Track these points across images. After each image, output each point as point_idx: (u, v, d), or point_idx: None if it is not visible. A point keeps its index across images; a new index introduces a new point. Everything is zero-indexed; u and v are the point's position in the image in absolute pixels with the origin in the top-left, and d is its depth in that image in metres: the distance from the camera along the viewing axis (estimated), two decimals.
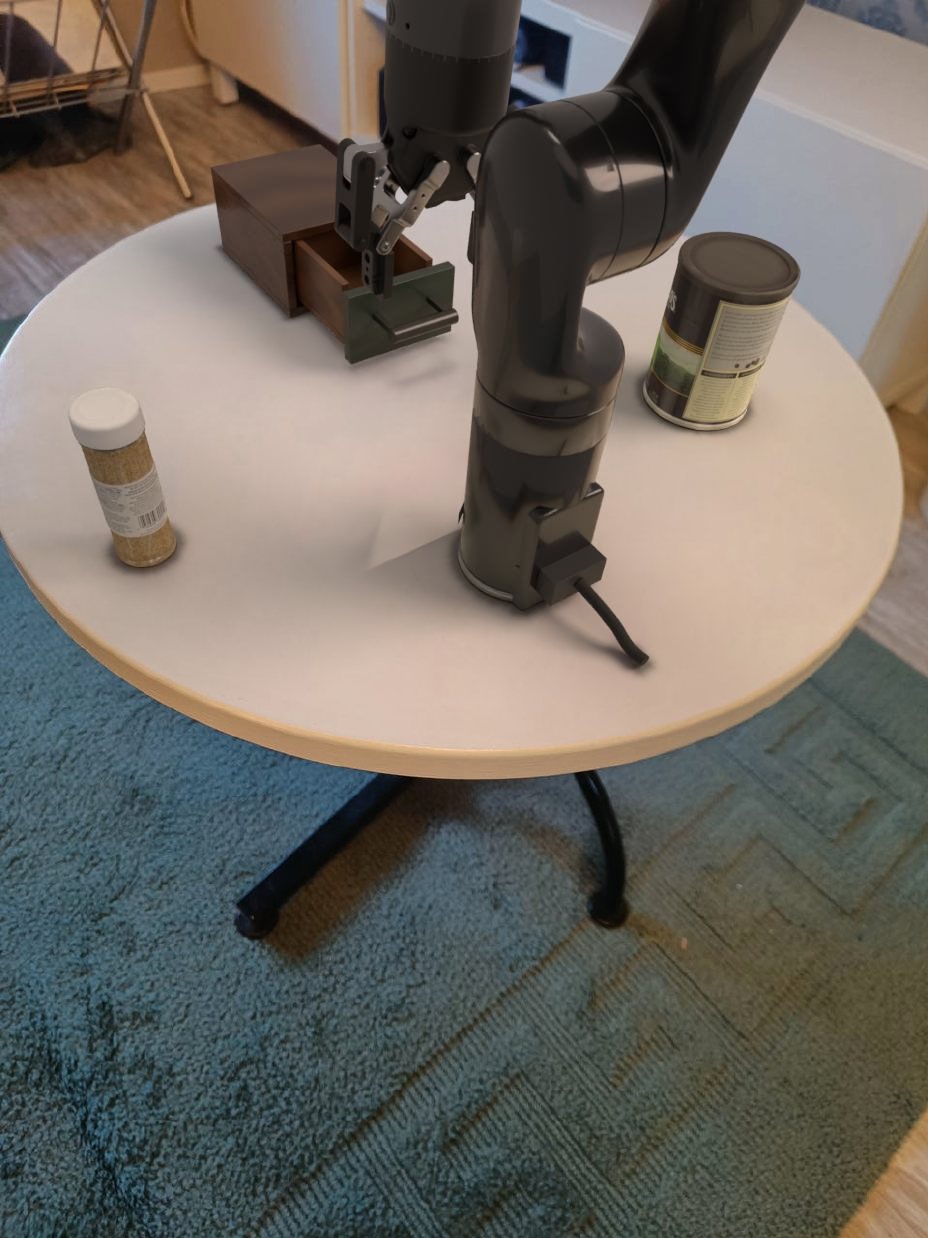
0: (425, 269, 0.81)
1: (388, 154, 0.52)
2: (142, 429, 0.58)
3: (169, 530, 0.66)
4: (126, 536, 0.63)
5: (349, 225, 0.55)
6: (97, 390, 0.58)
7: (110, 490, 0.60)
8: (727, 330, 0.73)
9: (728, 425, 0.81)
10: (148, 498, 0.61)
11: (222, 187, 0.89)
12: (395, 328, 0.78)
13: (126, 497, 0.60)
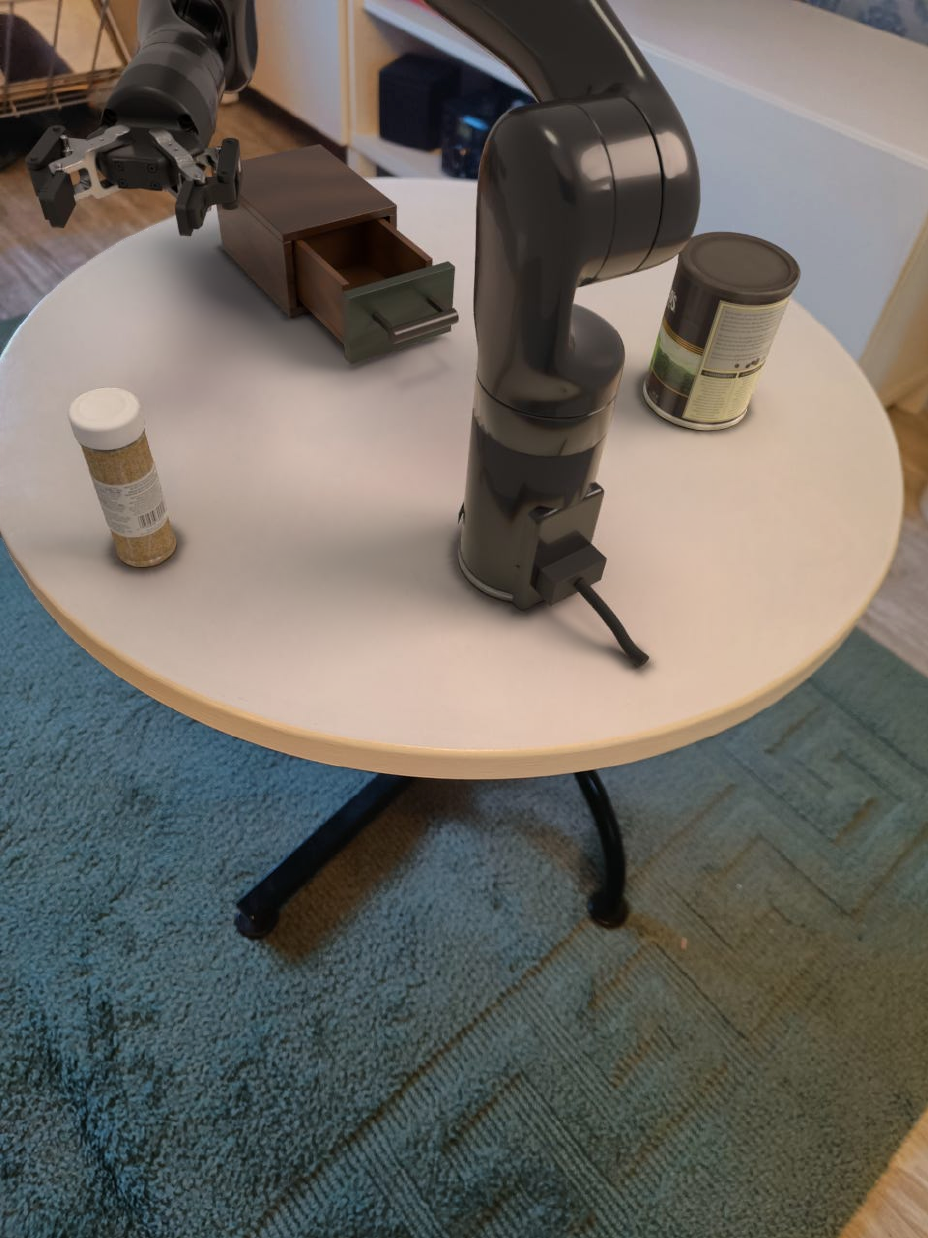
0: (425, 269, 0.81)
1: (86, 140, 0.64)
2: (142, 429, 0.58)
3: (169, 530, 0.66)
4: (126, 536, 0.63)
5: None
6: (97, 390, 0.58)
7: (110, 490, 0.60)
8: (727, 330, 0.73)
9: (728, 425, 0.81)
10: (148, 498, 0.61)
11: None
12: (395, 328, 0.78)
13: (126, 497, 0.60)
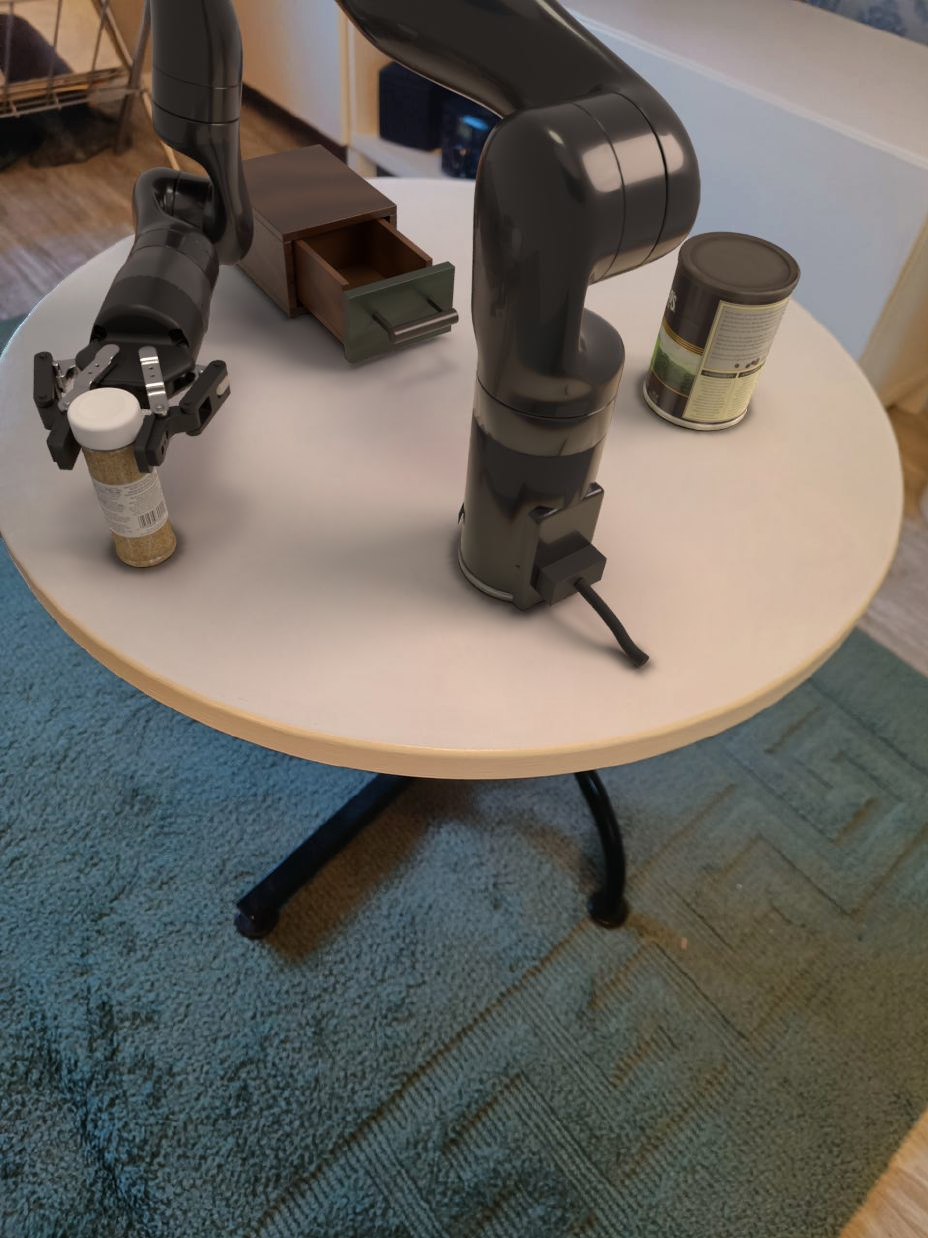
0: (425, 269, 0.81)
1: None
2: None
3: (169, 530, 0.66)
4: (126, 536, 0.63)
5: None
6: (96, 390, 0.58)
7: (109, 490, 0.60)
8: (727, 329, 0.73)
9: (728, 425, 0.81)
10: (148, 498, 0.61)
11: None
12: (395, 328, 0.78)
13: (126, 497, 0.60)
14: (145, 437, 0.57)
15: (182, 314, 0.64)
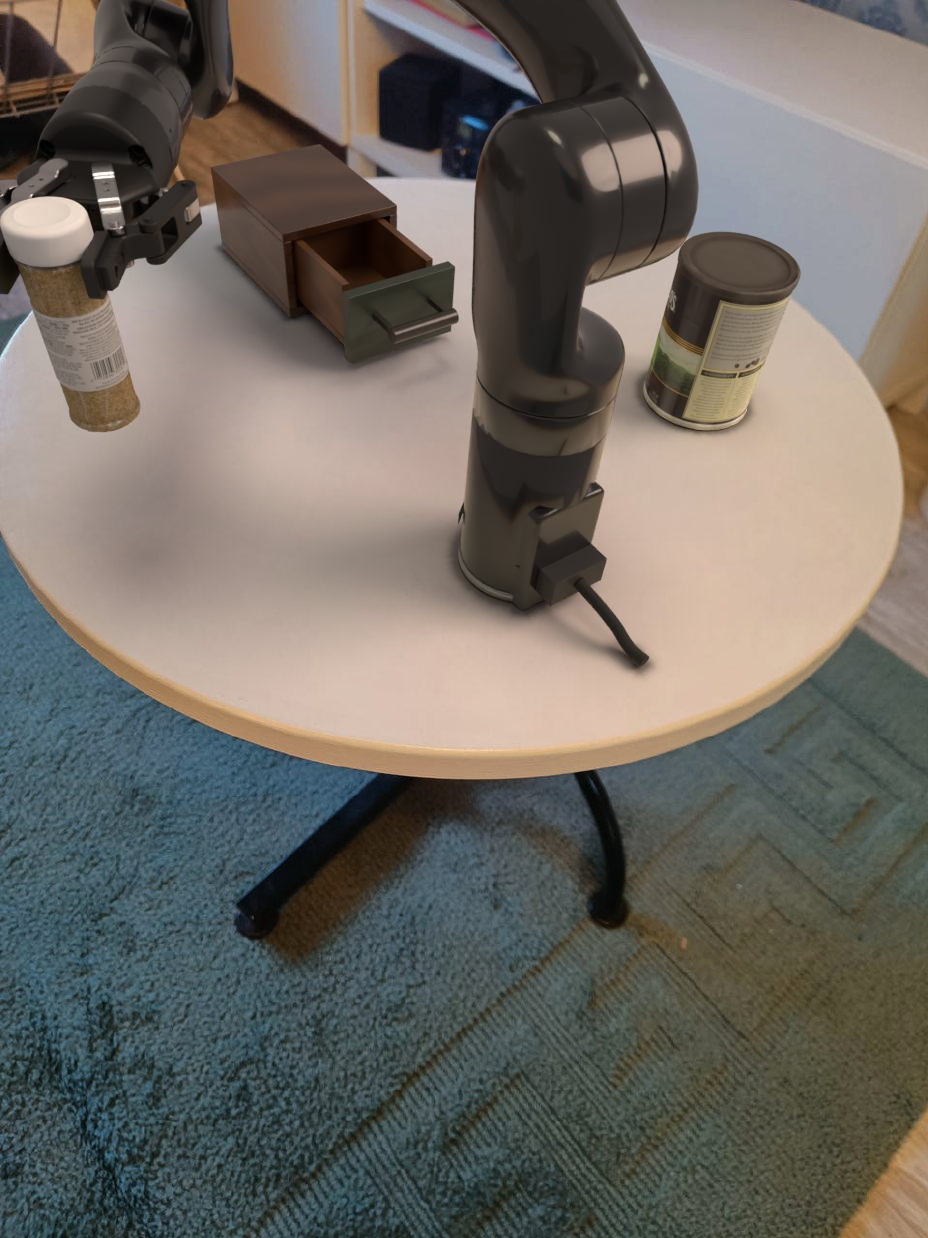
0: (425, 269, 0.81)
1: None
2: None
3: (131, 389, 0.56)
4: (79, 390, 0.53)
5: None
6: (37, 198, 0.48)
7: (55, 325, 0.50)
8: (727, 329, 0.73)
9: (728, 425, 0.81)
10: (103, 339, 0.52)
11: (222, 187, 0.89)
12: (395, 328, 0.78)
13: (75, 336, 0.50)
14: (95, 252, 0.47)
15: (145, 130, 0.54)
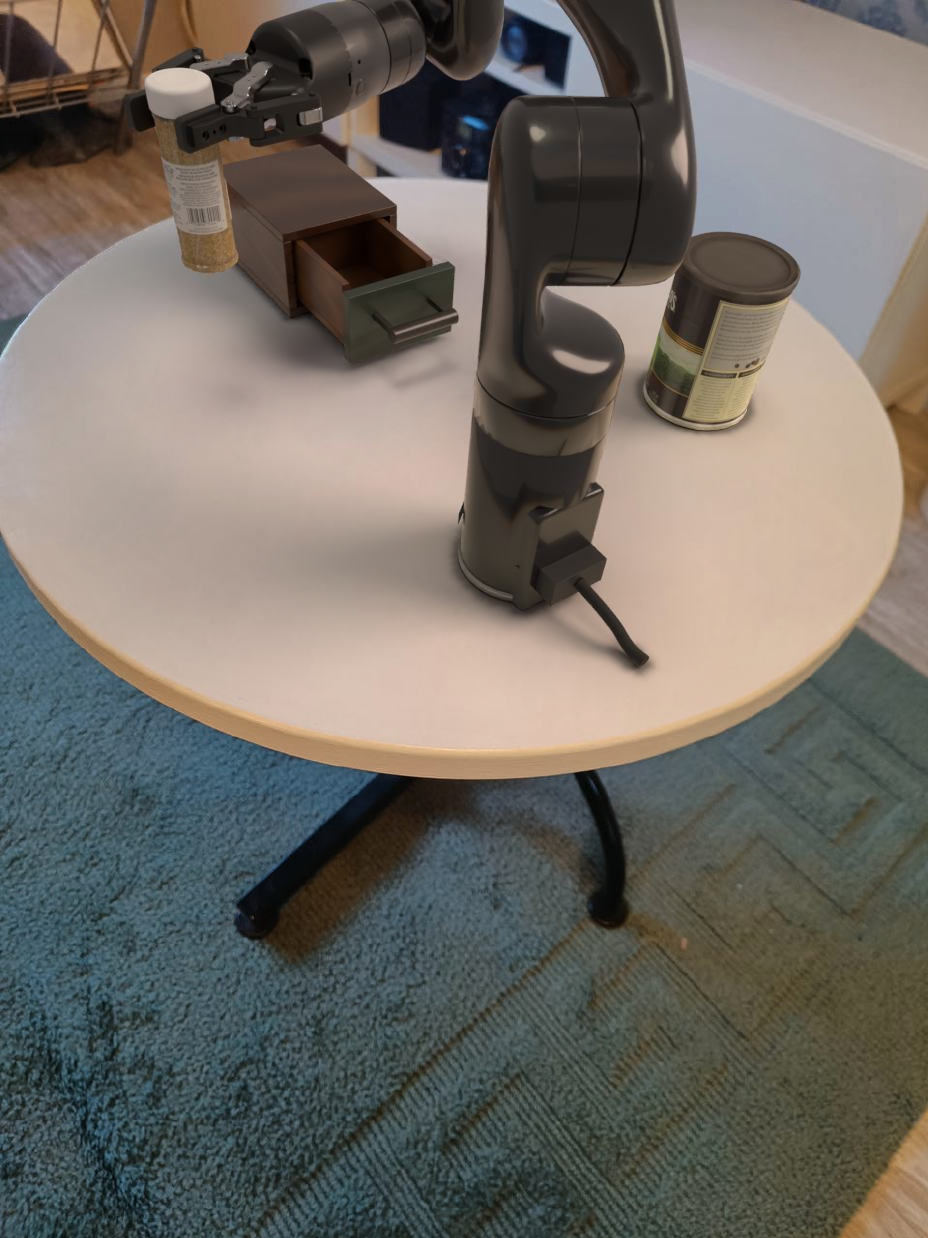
0: (425, 269, 0.81)
1: None
2: None
3: (224, 245, 0.68)
4: (179, 228, 0.67)
5: None
6: (187, 69, 0.61)
7: (166, 167, 0.63)
8: (727, 330, 0.73)
9: (728, 425, 0.81)
10: (199, 192, 0.64)
11: None
12: (395, 328, 0.78)
13: (177, 180, 0.64)
14: (193, 115, 0.59)
15: (322, 51, 0.65)
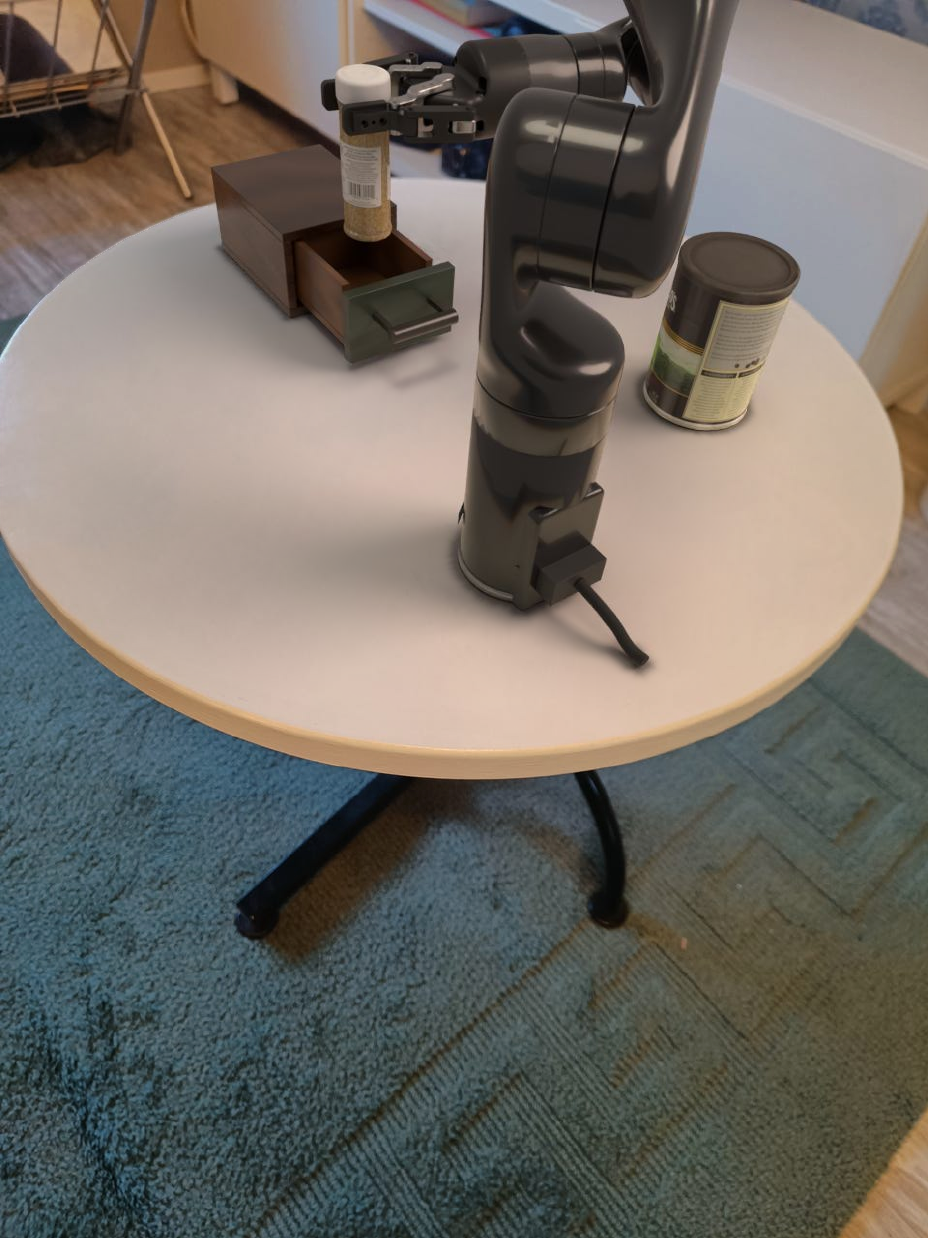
0: (425, 269, 0.81)
1: None
2: None
3: (375, 220, 0.79)
4: (343, 197, 0.78)
5: None
6: (378, 67, 0.72)
7: (340, 144, 0.75)
8: (727, 330, 0.73)
9: (728, 425, 0.81)
10: (359, 170, 0.75)
11: (222, 187, 0.89)
12: (395, 328, 0.78)
13: (344, 156, 0.75)
14: (359, 104, 0.70)
15: (502, 74, 0.73)
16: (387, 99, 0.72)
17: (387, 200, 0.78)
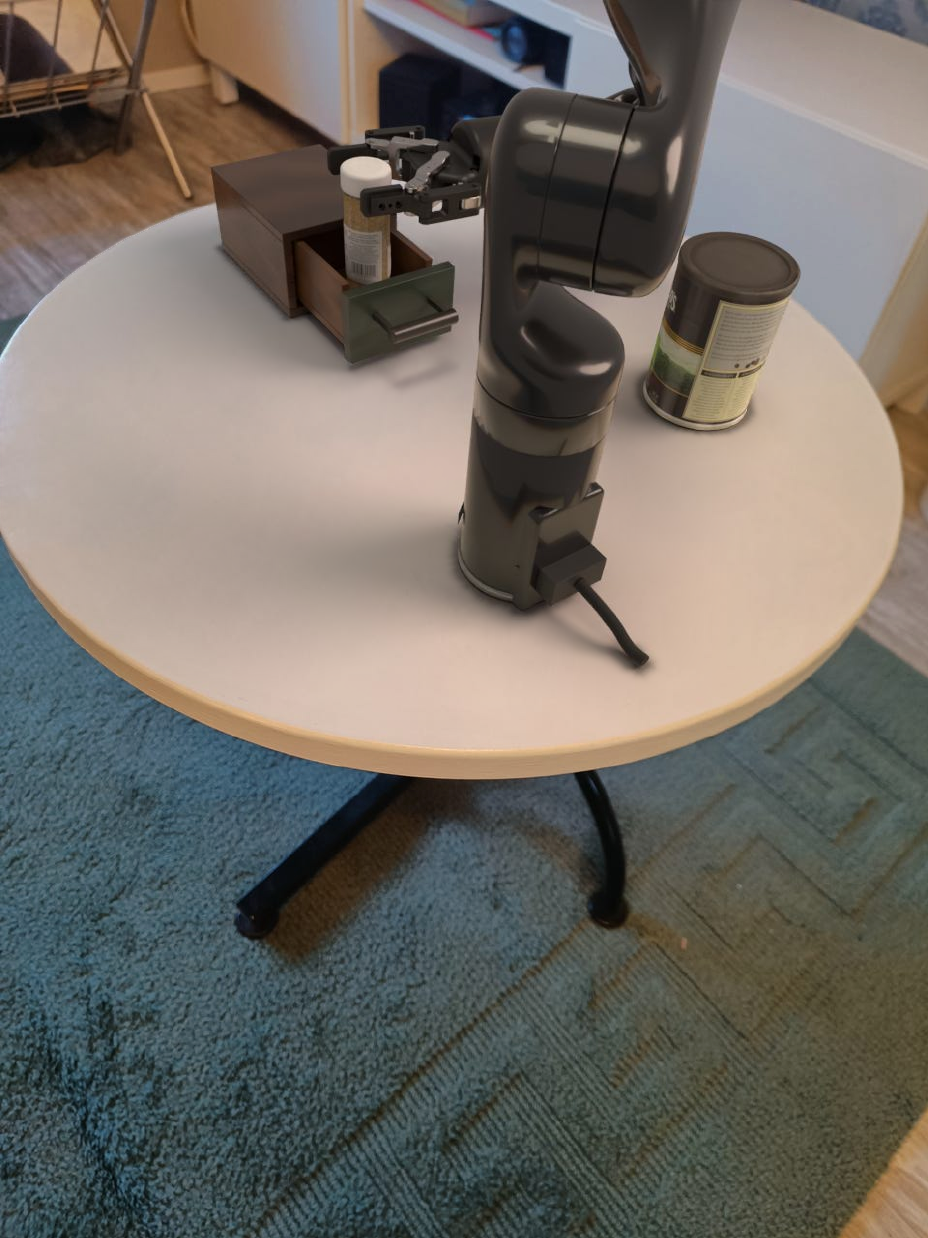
0: (425, 269, 0.81)
1: None
2: None
3: None
4: (346, 273, 0.84)
5: None
6: (380, 160, 0.78)
7: (344, 227, 0.81)
8: (727, 329, 0.73)
9: (728, 425, 0.81)
10: (361, 252, 0.81)
11: (222, 187, 0.89)
12: (395, 328, 0.78)
13: (348, 239, 0.81)
14: (376, 189, 0.74)
15: None
16: None
17: (387, 277, 0.84)
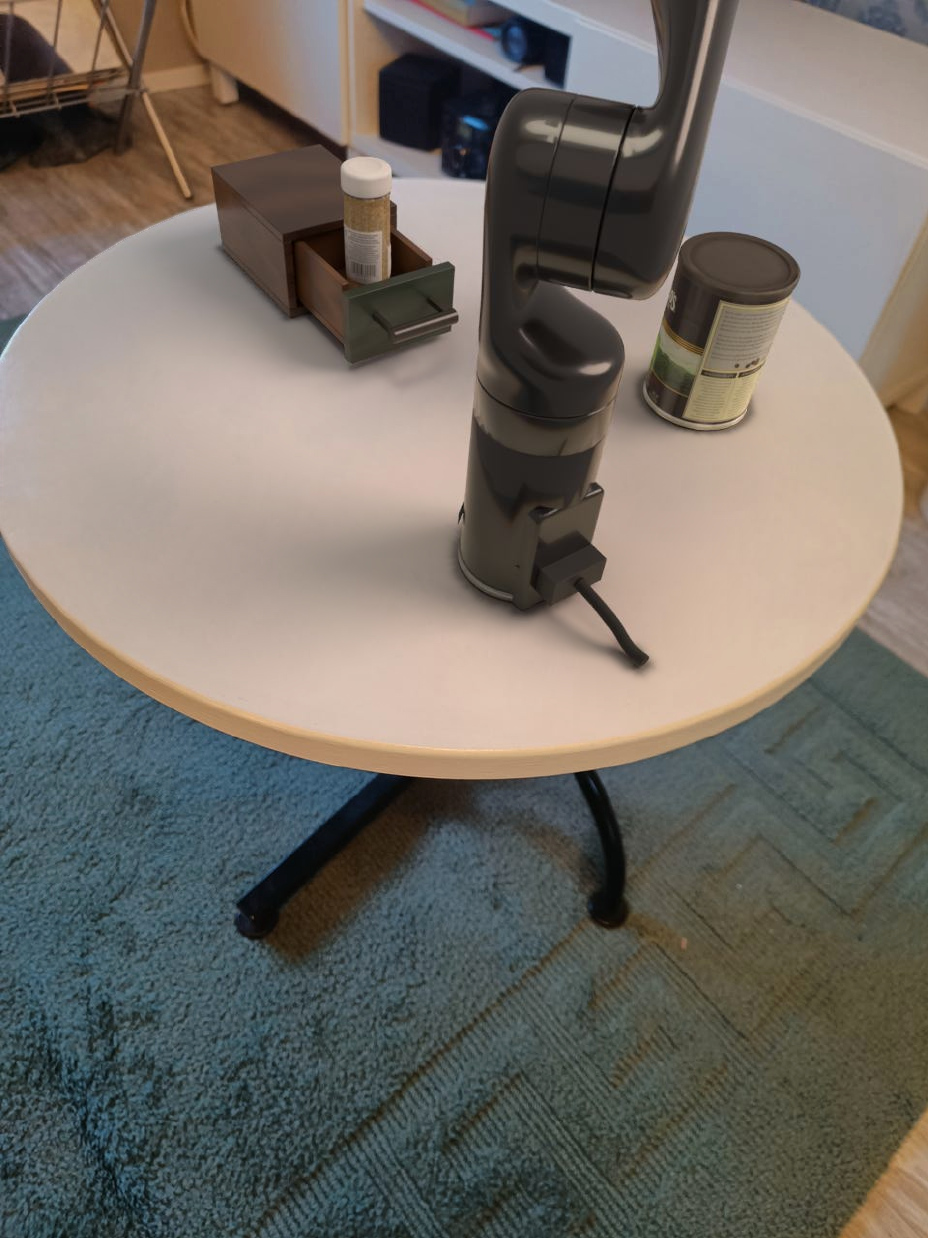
0: (425, 269, 0.81)
1: None
2: (372, 195, 0.77)
3: None
4: (346, 273, 0.84)
5: None
6: (380, 160, 0.78)
7: (344, 227, 0.81)
8: (727, 329, 0.73)
9: (728, 425, 0.81)
10: (361, 251, 0.81)
11: (222, 187, 0.89)
12: (395, 328, 0.78)
13: (348, 239, 0.81)
14: None
15: None
16: (388, 190, 0.78)
17: (387, 277, 0.84)
